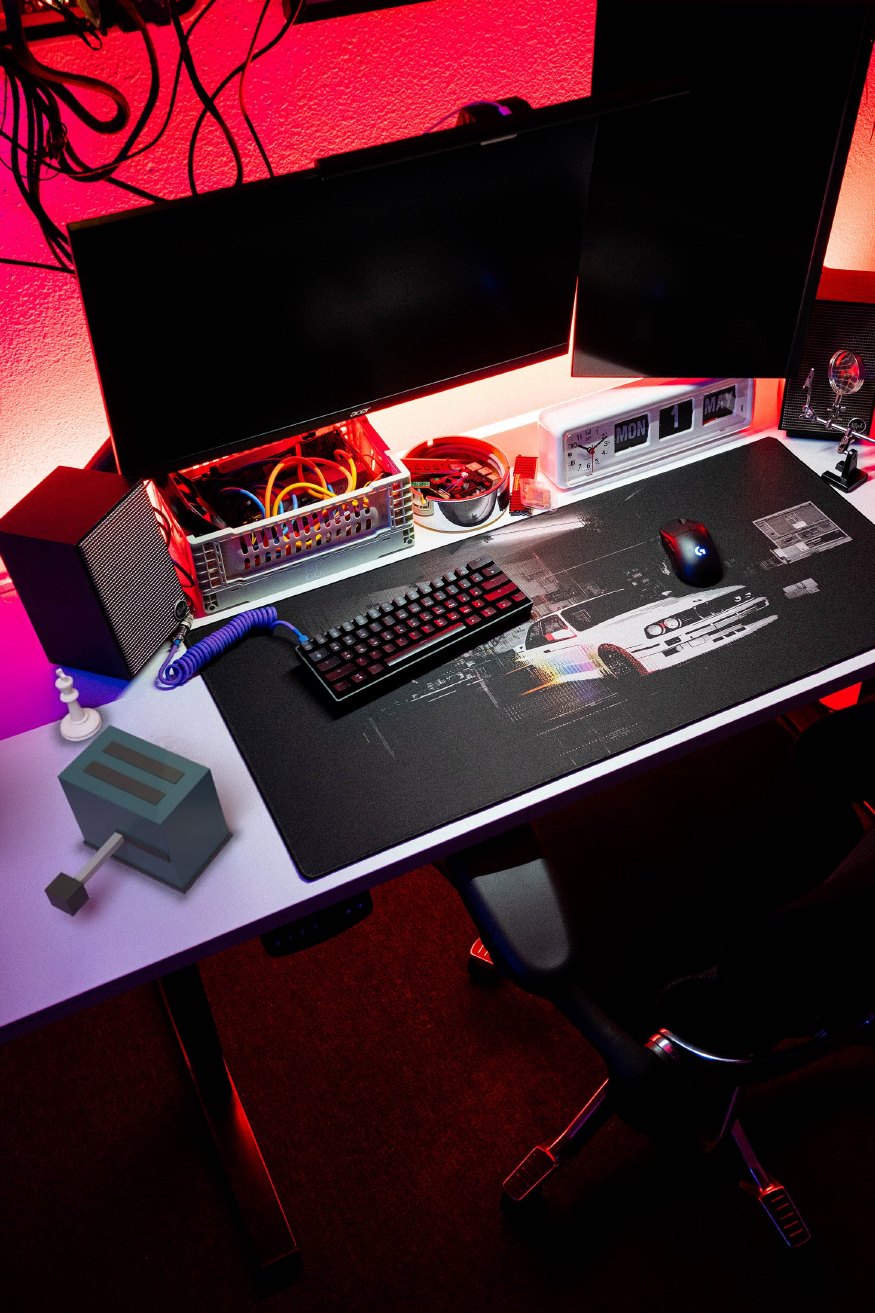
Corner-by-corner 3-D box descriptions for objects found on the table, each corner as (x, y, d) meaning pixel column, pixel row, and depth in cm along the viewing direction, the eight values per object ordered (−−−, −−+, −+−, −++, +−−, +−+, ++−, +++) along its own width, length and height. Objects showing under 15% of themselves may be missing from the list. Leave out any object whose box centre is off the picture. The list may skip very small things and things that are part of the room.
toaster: (184, 894, 122) (160, 826, 114) (83, 845, 127) (53, 776, 119) (233, 836, 128) (212, 767, 120) (134, 790, 133) (109, 722, 125)
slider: (73, 917, 115) (66, 901, 113) (51, 905, 116) (43, 890, 114) (133, 849, 121) (127, 833, 119) (112, 839, 122) (105, 823, 120)
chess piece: (74, 747, 138) (51, 691, 132) (53, 727, 141) (29, 671, 134) (109, 724, 141) (89, 668, 134) (88, 705, 143) (67, 649, 137)
